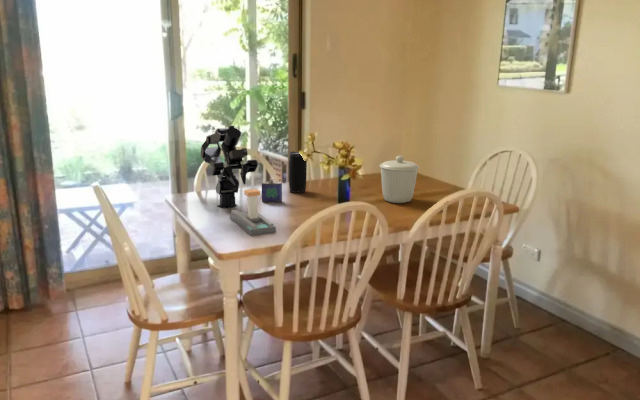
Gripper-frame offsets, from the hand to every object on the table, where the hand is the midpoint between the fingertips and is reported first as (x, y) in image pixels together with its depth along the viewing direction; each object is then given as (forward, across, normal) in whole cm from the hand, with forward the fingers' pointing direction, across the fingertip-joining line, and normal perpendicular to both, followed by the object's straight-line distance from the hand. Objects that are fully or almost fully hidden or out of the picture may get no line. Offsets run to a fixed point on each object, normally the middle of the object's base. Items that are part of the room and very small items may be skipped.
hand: (240, 184), depth 220 cm
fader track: (+18, 0, +1) cm, 19 cm away
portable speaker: (-10, +39, +30) cm, 50 cm away
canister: (+14, +74, +5) cm, 76 cm away
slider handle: (+18, 0, -2) cm, 18 cm away
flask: (-2, +20, +21) cm, 29 cm away
